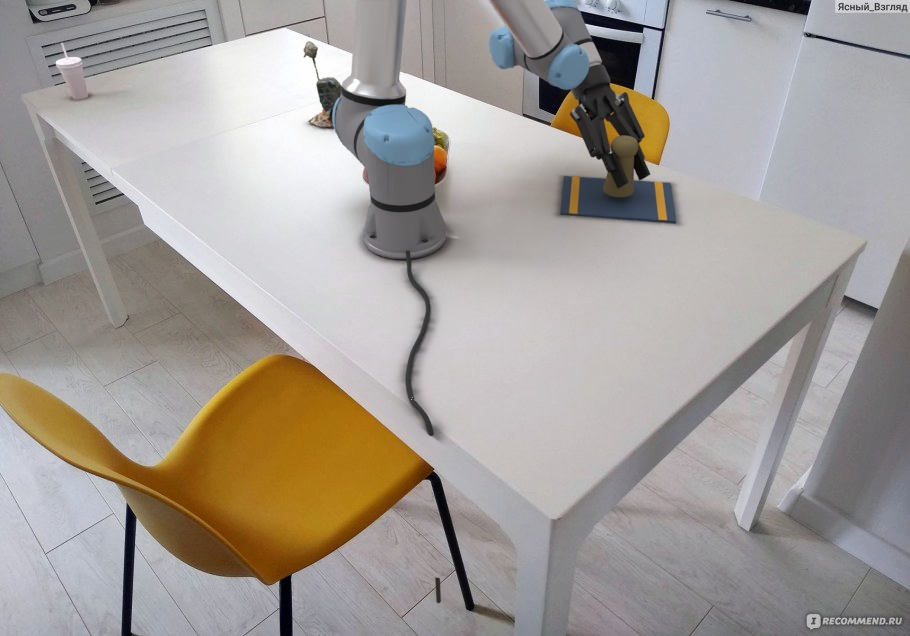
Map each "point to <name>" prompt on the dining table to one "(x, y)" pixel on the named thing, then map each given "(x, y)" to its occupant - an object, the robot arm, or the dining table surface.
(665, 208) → the towel
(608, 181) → the cork
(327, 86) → the stone sculpture
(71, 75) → the smoothie
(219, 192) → the dining table surface
